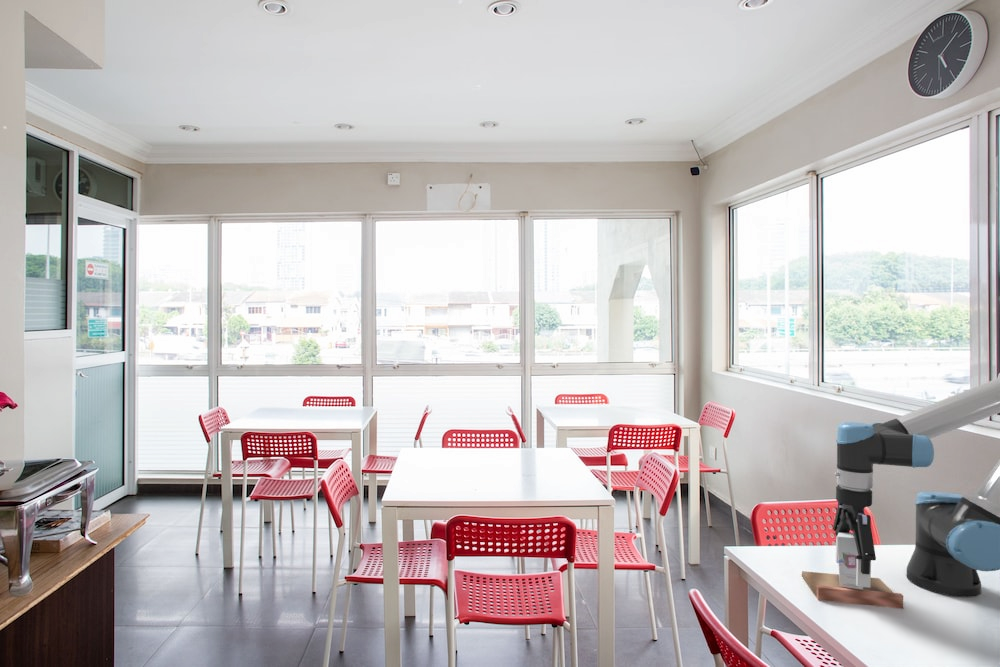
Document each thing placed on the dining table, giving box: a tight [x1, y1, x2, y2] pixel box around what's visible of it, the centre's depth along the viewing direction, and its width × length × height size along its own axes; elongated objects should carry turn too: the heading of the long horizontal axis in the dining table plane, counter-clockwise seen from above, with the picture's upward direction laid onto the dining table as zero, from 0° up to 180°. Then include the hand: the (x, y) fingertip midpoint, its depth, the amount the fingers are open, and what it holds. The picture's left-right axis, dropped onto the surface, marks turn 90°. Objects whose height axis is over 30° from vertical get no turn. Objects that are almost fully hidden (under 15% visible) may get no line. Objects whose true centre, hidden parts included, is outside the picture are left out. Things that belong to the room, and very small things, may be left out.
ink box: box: [836, 532, 863, 590], centre depth 143 cm, size 9×5×12 cm, turn 148°
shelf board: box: [801, 570, 904, 610], centre depth 144 cm, size 18×13×3 cm
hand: (852, 574), depth 142 cm, fingers open, 13 cm apart
